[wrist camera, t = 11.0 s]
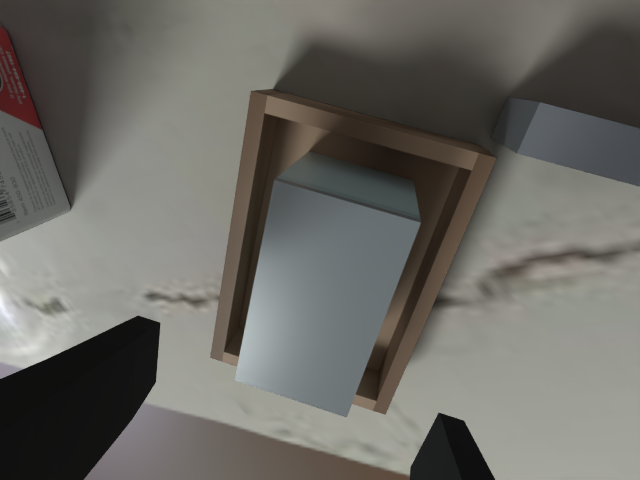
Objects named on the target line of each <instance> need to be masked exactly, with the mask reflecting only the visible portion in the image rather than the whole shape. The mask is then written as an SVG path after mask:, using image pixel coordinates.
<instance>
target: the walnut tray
mask: <svg viewBox="0 0 640 480" xmlns="http://www.w3.org/2000/svg"><path fill="white" fill-rule="evenodd" d="M308 151H311V152H315V153H318V154H322V155H325V156H329V157H332V158H336V159H339V160H343V161H346V162H350V163H353V164H357V165H360V166H364V167H367V168H371V169H374V170H378V171H381V172H385V173H388V174H392V175H395V176H399V177H402V178H406V179H410V180H413V181H414V186H415V192H416V198H417V203H418V209H419V214H420V220H421V224H420V227H419V229H418V232H417V235H416V237H415V240H414V242H413V245H412V248H411V250H410V253H409V256H408V258H407V261H406V263H405V266H404V269H403V271H402V274H401V277H400V279H399V282H398V284H397V287H396V290H395V292H394V295H393V297H392V300H391V303H390V305H389V308H388V311H387V313H386V316H385V318H384V321H383V324H382V326H381V329H380V331H379V334H378V337H377V339H376V342H375V345H374V347H373V350H372V352H371V355H370V358H369V360H368V363H367V366H366V368H365V371H364V373H363V376H362V379H361V381H360V384H359V386H358V389H357V392H356V394H355V397H354V400H353V402H352V404H354V405H357V406H361V407H364V408H367V409H370V410H373V411H376V412H379V413H382V414H386V412H387V410H388V407H389V405H390V403H391V401H392V398H393V396H394V394H395V391H396V389H397V387H398V384H399V382H400V380H401V378H402V375H403V373H404V371H405V368H406V366H407V364H408V361H409V359H410V357H411V355H412V352H413V350H414V348H415V345H416V343H417V341H418V338H419V336H420V334H421V332H422V329H423V327H424V325H425V322H426V320H427V318H428V315H429V313H430V311H431V309H432V306H433V304H434V302H435V299H436V297H437V295H438V292H439V290H440V288H441V286H442V283H443V281H444V279H445V276H446V274H447V272H448V269H449V267H450V265H451V263H452V260H453V258H454V256H455V253H456V251H457V249H458V246H459V244H460V242H461V240H462V237H463V235H464V233H465V230H466V228H467V226H468V223H469V221H470V219H471V217H472V214H473V212H474V210H475V207H476V205H477V203H478V200H479V198H480V196H481V194H482V191H483V189H484V187H485V184H486V182H487V180H488V177H489V175H490V173H491V171H492V168H493V166H494V164H495V161H496V159H497V158H496V157H495V156H494V155H492V154H491V153H490V152H489V151H487V150H486V149H485V148H483V147H482V146H479V145H476V144H472V143H468V142H465V141H461V140H457V139H454V138H450V137H446V136H443V135H439V134H435V133H432V132H428V131H424V130H421V129H417V128H413V127H410V126H406V125H402V124H398V123H395V122H391V121H387V120H384V119H380V118H376V117H373V116H369V115H365V114H362V113H358V112H354V111H351V110H347V109H343V108H340V107H336V106H332V105H329V104H325V103H321V102H317V101H314V100H310V99H306V98H303V97H299V96H295V95H292V94H288V93H284V92H281V91H277V90H273V89H268V90H256V91H251V95H250V101H249V108H248V114H247V121H246V128H245V134H244V141H243V147H242V154H241V160H240V167H239V173H238V180H237V186H236V193H235V200H234V206H233V213H232V219H231V226H230V232H229V239H228V245H227V252H226V258H225V265H224V272H223V278H222V285H221V291H220V298H219V304H218V311H217V317H216V324H215V331H214V337H213V344H212V350H211V357H210V358H213V359H216V360H219V361H222V362H225V363H228V364H231V365H234V366H237V365H238V360H239V355H240V350H241V345H242V340H243V335H244V330H245V325H246V320H247V315H248V310H249V305H250V300H251V295H252V289H253V284H254V279H255V274H256V269H257V264H258V259H259V254H260V249H261V244H262V239H263V234H264V229H265V224H266V219H267V214H268V208H269V203H270V198H271V193H272V188H273V183H274V180H275V179H276V178H277V177H278V176H279V175H281V174H282V173H283V172H284V171H285V170H287V169H288V168H289V167H290V166H291V165H293V164H294V163H295V162H296V161H297V160H299V159H300V158H301V157H302V156H303V155H305V154H306V153H307V152H308Z"/></svg>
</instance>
